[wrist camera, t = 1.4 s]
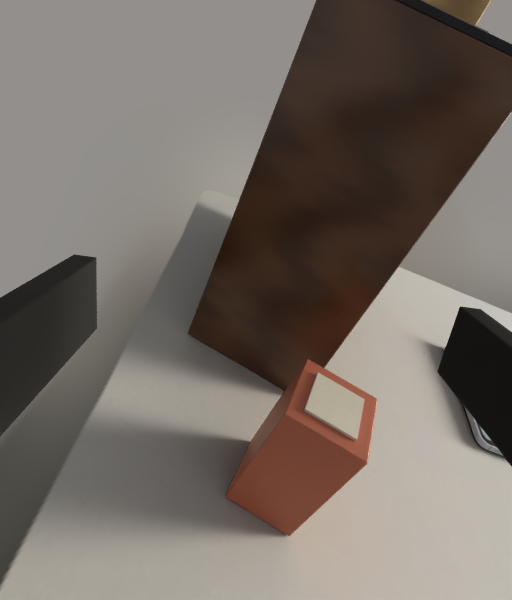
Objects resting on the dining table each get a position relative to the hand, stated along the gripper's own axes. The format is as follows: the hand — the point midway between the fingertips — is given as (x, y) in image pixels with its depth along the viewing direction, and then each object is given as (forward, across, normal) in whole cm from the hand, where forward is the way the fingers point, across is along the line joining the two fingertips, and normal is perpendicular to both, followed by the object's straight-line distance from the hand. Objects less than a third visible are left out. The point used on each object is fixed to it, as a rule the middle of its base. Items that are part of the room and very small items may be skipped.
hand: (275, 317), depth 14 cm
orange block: (+9, +2, -17) cm, 19 cm away
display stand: (+31, +4, -11) cm, 33 cm away
